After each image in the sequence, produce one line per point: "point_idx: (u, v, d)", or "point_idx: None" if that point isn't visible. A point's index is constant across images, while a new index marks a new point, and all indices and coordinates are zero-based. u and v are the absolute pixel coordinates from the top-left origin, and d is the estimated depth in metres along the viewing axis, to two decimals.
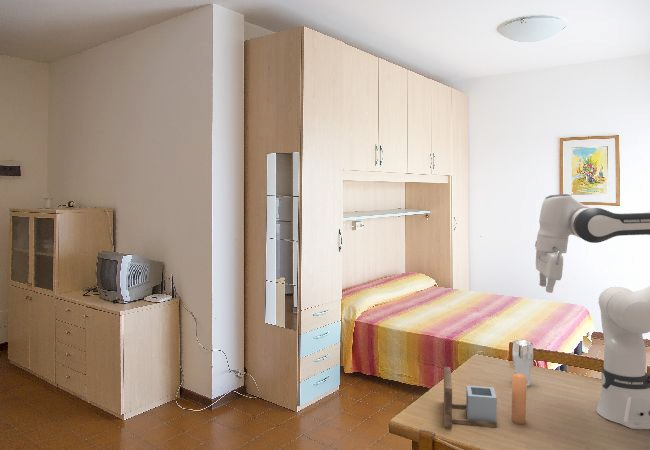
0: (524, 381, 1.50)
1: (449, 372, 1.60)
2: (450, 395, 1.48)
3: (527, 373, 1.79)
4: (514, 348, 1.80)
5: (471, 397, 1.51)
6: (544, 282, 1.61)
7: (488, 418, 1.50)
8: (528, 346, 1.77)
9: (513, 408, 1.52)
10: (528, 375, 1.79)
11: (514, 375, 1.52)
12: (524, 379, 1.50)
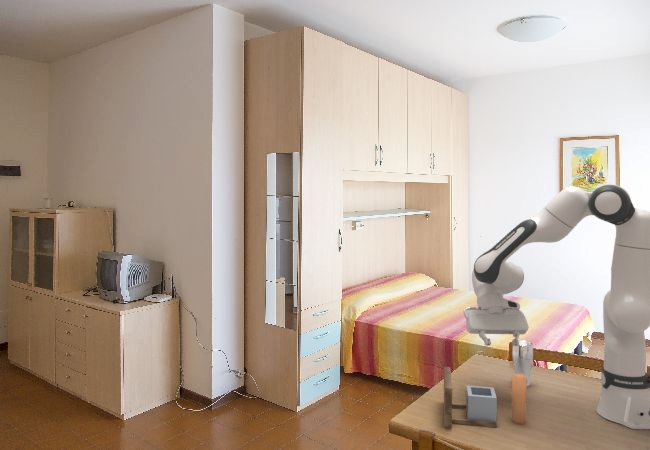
0: (524, 381, 1.50)
1: (449, 372, 1.60)
2: (450, 395, 1.48)
3: (527, 373, 1.79)
4: (514, 348, 1.80)
5: (471, 397, 1.51)
6: (513, 340, 1.64)
7: (488, 418, 1.50)
8: (528, 346, 1.77)
9: (513, 408, 1.52)
10: (528, 375, 1.79)
11: (514, 375, 1.52)
12: (524, 379, 1.50)
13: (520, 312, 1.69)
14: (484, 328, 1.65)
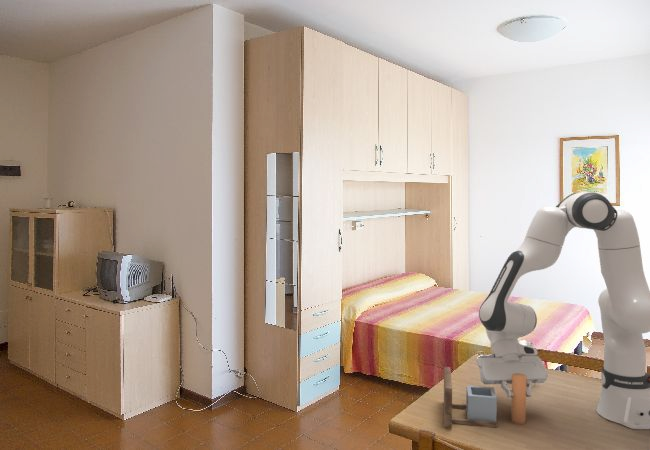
0: (524, 381, 1.50)
1: (449, 372, 1.60)
2: (450, 395, 1.48)
3: None
4: None
5: (471, 397, 1.51)
6: None
7: (488, 418, 1.50)
8: (528, 346, 1.77)
9: (513, 408, 1.52)
10: None
11: (514, 375, 1.52)
12: (524, 379, 1.50)
13: (538, 359, 1.57)
14: (499, 378, 1.53)
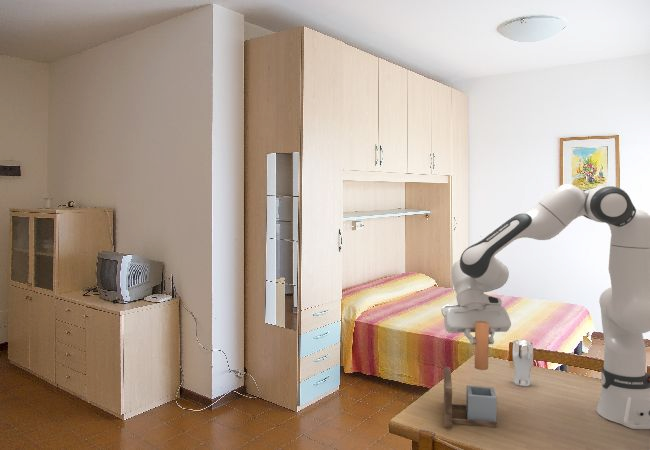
0: (486, 328, 1.51)
1: (449, 372, 1.60)
2: (450, 395, 1.48)
3: (527, 373, 1.79)
4: (514, 348, 1.80)
5: (471, 397, 1.51)
6: None
7: (488, 418, 1.50)
8: (528, 346, 1.77)
9: (476, 355, 1.53)
10: (528, 375, 1.79)
11: (477, 322, 1.53)
12: (486, 326, 1.51)
13: (502, 308, 1.58)
14: (463, 326, 1.54)
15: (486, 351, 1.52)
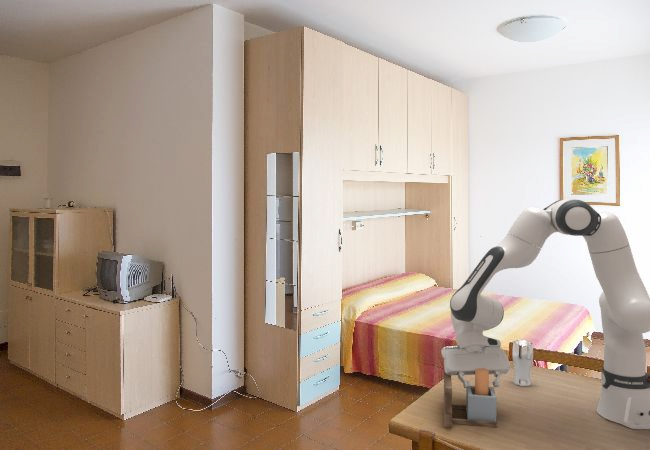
0: (486, 375, 1.52)
1: None
2: (450, 395, 1.48)
3: (527, 373, 1.79)
4: (514, 348, 1.80)
5: (471, 397, 1.51)
6: (493, 381, 1.55)
7: (488, 418, 1.50)
8: (528, 346, 1.77)
9: None
10: (528, 375, 1.79)
11: (477, 369, 1.54)
12: (486, 373, 1.52)
13: (501, 350, 1.59)
14: (462, 369, 1.55)
15: None
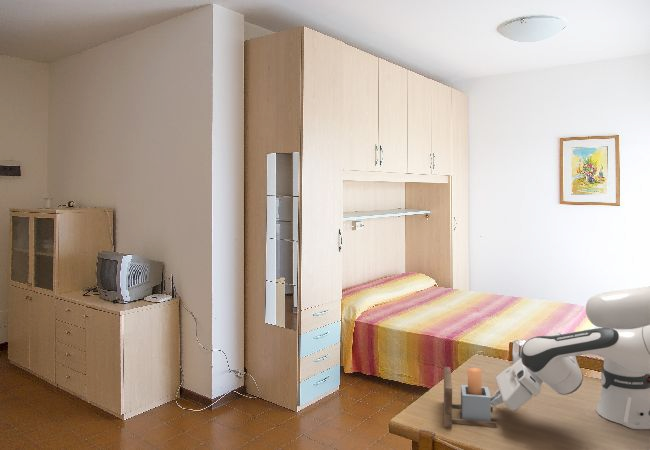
0: (478, 375, 1.53)
1: (449, 372, 1.60)
2: (450, 395, 1.48)
3: None
4: (514, 348, 1.80)
5: (465, 397, 1.51)
6: None
7: (482, 417, 1.51)
8: None
9: None
10: None
11: (469, 369, 1.55)
12: (478, 373, 1.53)
13: (517, 385, 1.44)
14: (497, 382, 1.58)
15: None
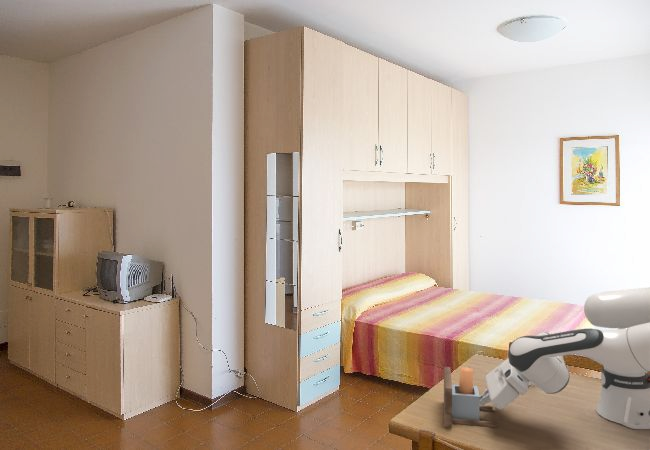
0: (470, 375, 1.53)
1: (449, 372, 1.60)
2: (450, 395, 1.48)
3: None
4: None
5: (454, 396, 1.52)
6: None
7: (471, 417, 1.52)
8: None
9: None
10: None
11: (462, 369, 1.55)
12: (470, 373, 1.53)
13: (504, 384, 1.44)
14: (486, 381, 1.59)
15: None
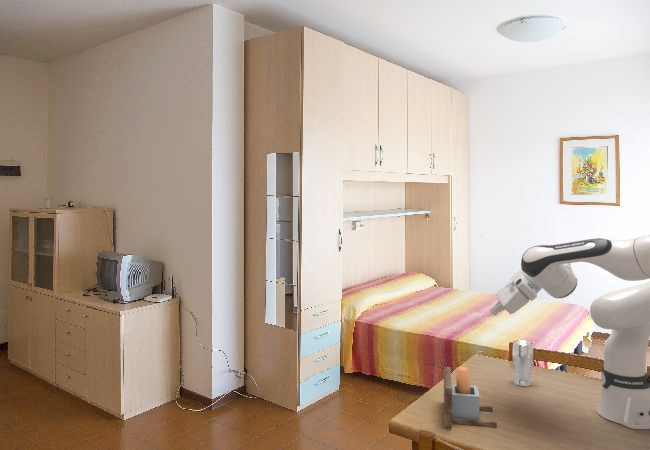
0: (466, 374, 1.53)
1: (449, 372, 1.60)
2: (450, 395, 1.48)
3: (527, 373, 1.79)
4: (514, 348, 1.80)
5: (454, 396, 1.52)
6: None
7: (471, 417, 1.52)
8: (528, 346, 1.77)
9: None
10: (528, 375, 1.79)
11: (457, 368, 1.56)
12: (466, 372, 1.53)
13: (515, 291, 1.56)
14: (497, 296, 1.70)
15: None
